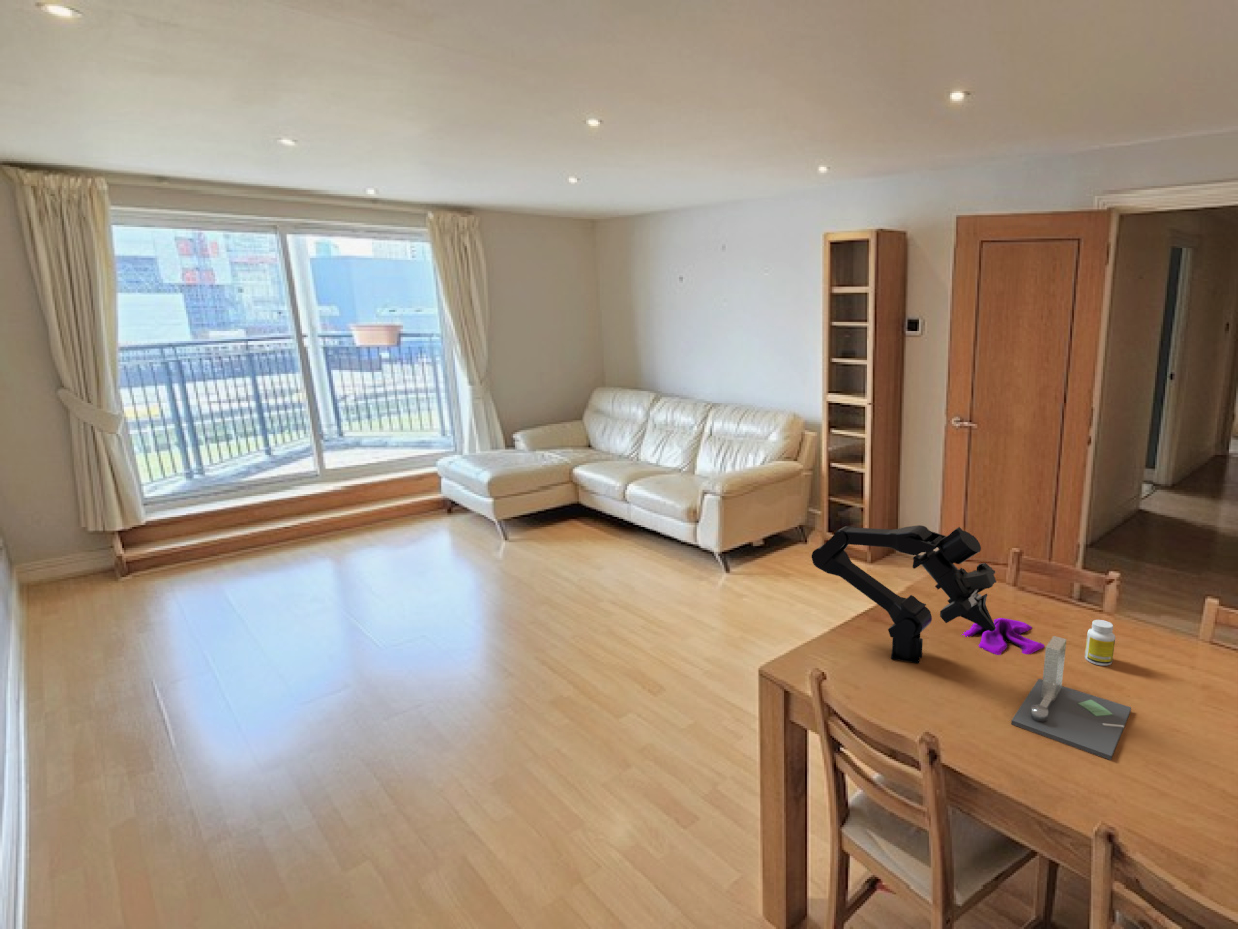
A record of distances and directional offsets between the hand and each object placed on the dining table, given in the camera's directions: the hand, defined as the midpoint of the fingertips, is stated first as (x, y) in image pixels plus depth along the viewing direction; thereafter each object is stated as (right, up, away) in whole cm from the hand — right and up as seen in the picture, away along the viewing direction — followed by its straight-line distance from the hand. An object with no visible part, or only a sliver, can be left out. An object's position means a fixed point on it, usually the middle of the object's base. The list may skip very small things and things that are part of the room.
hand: (993, 630), depth 148 cm
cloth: (+14, -8, +23) cm, 28 cm away
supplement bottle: (+30, -10, +9) cm, 33 cm away
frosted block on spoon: (+8, -14, -7) cm, 17 cm away
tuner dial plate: (+10, -16, -11) cm, 22 cm away
